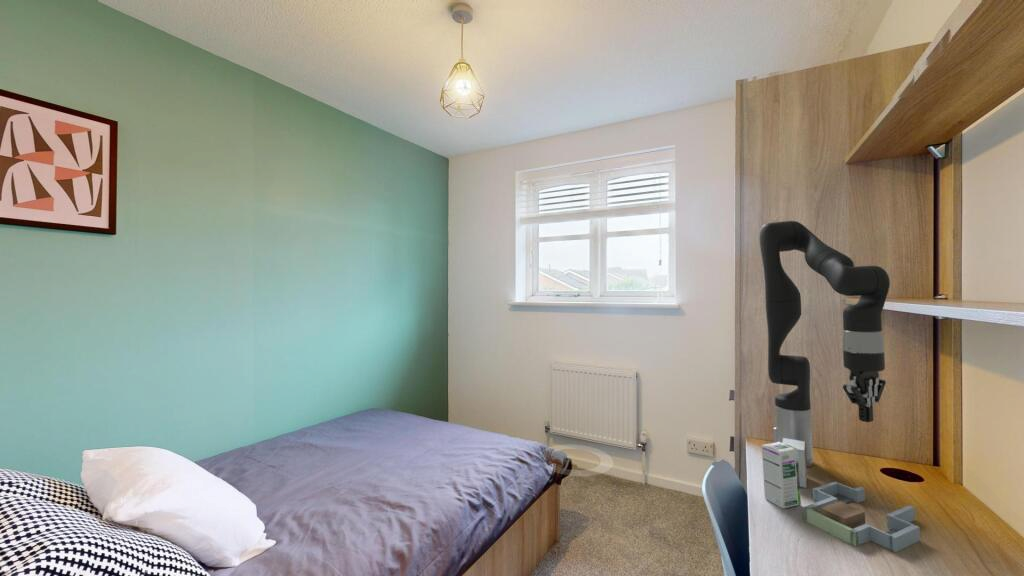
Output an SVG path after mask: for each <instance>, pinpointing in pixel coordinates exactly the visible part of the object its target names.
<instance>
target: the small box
mask: <svg viewBox="0 0 1024 576" xmlns="http://www.w3.org/2000/svg"><path fill="white" fill-rule="evenodd" d="M782 443H785V444H787V445H790V446H792V447H794V448H796V449H797V450H798V464H799V481H800V488H804V489H806V488H808V487H807V482H808V481H807V479H808V473H807V467H806V443H805V441H799V440H793V439H786V438H783V441H782Z"/></svg>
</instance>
